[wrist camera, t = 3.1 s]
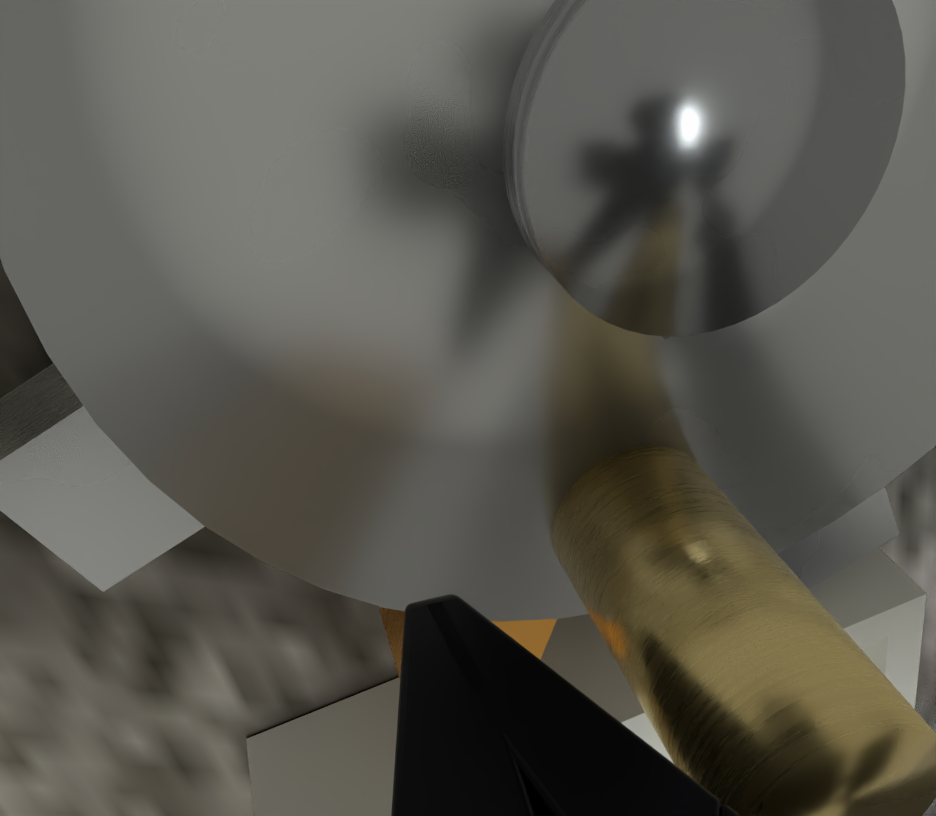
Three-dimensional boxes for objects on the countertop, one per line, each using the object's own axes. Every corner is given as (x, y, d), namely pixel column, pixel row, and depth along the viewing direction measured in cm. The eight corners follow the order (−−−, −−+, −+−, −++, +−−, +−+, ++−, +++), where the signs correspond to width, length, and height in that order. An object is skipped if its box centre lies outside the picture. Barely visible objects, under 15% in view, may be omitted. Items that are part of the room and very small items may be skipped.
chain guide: (832, 502, 15) (926, 593, 13) (829, 721, 18) (902, 817, 16) (245, 739, 13) (260, 875, 12) (363, 923, 17) (388, 1049, 15)
